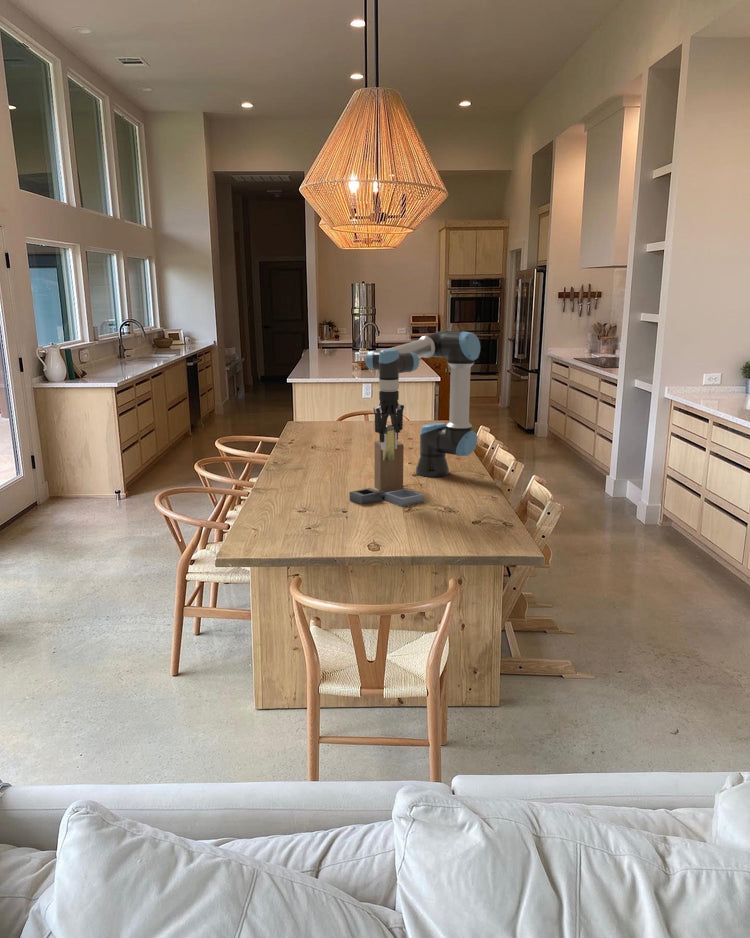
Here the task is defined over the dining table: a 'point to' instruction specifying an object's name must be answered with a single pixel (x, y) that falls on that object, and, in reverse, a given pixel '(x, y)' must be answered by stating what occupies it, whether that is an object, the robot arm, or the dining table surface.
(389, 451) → the pin
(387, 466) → the wooden block
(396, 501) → the tray
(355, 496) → the bar
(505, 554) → the dining table surface
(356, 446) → the dining table surface
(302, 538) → the dining table surface
